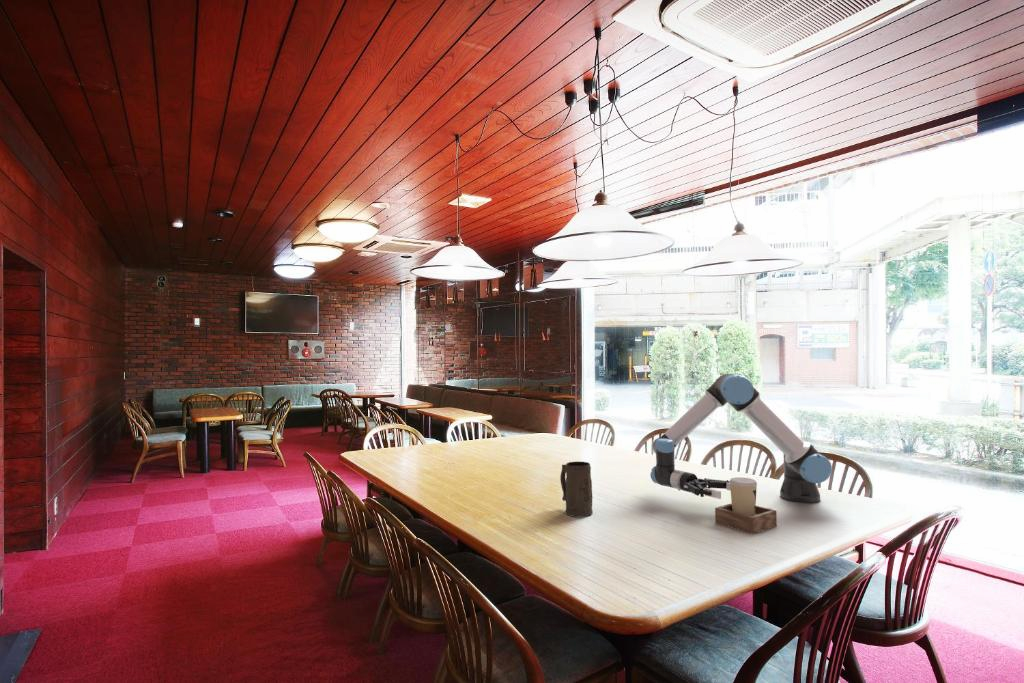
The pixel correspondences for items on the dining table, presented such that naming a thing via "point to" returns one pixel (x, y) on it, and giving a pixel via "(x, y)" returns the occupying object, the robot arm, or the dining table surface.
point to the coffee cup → (743, 495)
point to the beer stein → (577, 488)
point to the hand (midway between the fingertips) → (731, 492)
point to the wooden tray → (746, 519)
